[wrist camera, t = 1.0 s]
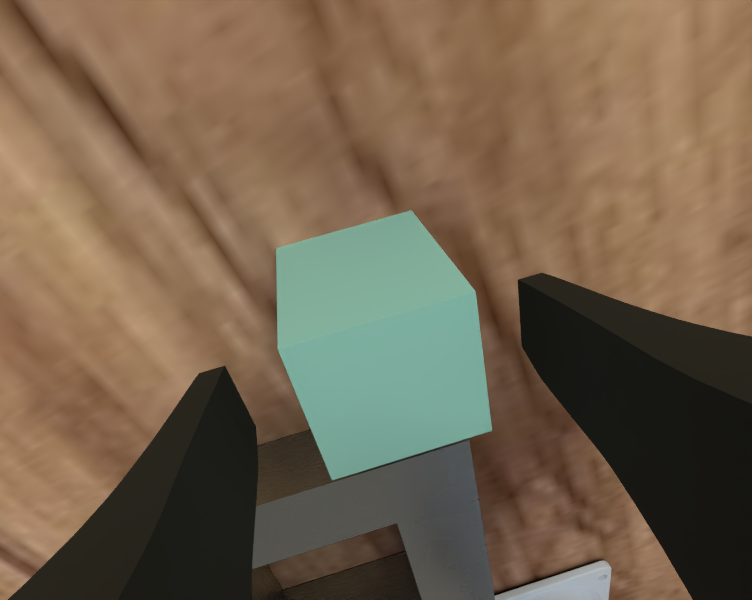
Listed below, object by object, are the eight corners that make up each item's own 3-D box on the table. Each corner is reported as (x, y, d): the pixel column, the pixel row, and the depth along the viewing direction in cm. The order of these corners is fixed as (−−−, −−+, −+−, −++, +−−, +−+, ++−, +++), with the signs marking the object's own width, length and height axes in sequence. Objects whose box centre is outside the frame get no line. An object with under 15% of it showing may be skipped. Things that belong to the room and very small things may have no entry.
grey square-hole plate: (477, 564, 23) (497, 618, 21) (242, 641, 23) (239, 704, 20) (444, 388, 17) (469, 440, 15) (119, 487, 16) (95, 555, 14)
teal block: (431, 321, 15) (492, 430, 11) (315, 356, 15) (331, 480, 11) (411, 209, 13) (475, 291, 9) (276, 247, 13) (277, 349, 9)
